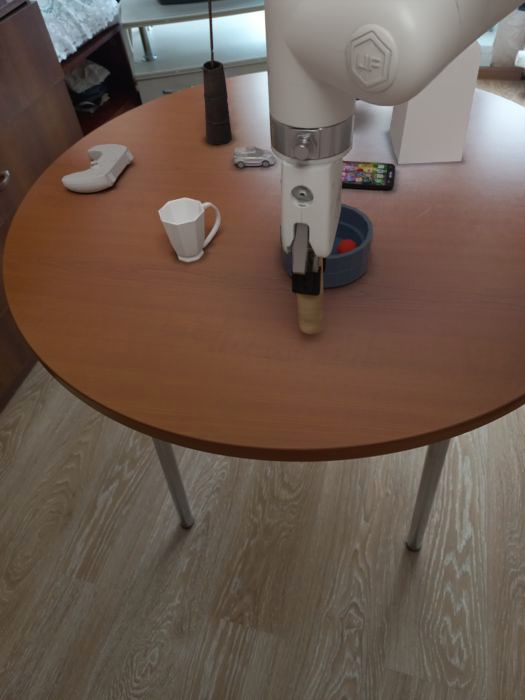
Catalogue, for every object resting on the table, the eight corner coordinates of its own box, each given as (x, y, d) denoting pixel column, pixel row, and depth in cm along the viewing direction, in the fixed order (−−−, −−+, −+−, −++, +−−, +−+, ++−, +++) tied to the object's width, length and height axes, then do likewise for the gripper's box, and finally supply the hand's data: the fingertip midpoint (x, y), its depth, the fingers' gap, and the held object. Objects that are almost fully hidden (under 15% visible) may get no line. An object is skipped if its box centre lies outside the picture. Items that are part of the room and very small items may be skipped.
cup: (160, 253, 83) (148, 210, 77) (209, 226, 87) (202, 183, 81) (185, 274, 79) (174, 230, 73) (235, 245, 83) (229, 201, 77)
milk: (461, 161, 95) (501, -4, 76) (398, 164, 96) (421, 2, 76) (447, 129, 103) (480, -27, 83) (389, 132, 104) (408, -22, 84)
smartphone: (393, 187, 89) (307, 181, 92) (392, 191, 90) (307, 186, 93) (395, 163, 94) (314, 158, 97) (395, 168, 95) (314, 163, 98)
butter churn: (211, 158, 101) (186, -9, 80) (185, 141, 107) (155, -20, 85) (248, 142, 105) (234, -23, 84) (221, 126, 110) (201, -33, 89)
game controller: (89, 140, 103) (132, 133, 99) (100, 161, 106) (141, 154, 102) (53, 179, 94) (98, 173, 90) (66, 200, 97) (110, 195, 93)
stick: (319, 313, 67) (316, 231, 57) (327, 330, 65) (326, 247, 55) (295, 319, 67) (289, 237, 57) (303, 336, 65) (298, 254, 55)
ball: (351, 263, 76) (363, 253, 78) (345, 245, 75) (357, 235, 76) (336, 263, 79) (349, 253, 80) (330, 245, 77) (343, 235, 79)
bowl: (348, 226, 84) (350, 194, 80) (384, 277, 76) (389, 244, 71) (270, 245, 83) (268, 213, 78) (298, 299, 74) (297, 267, 70)
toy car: (275, 167, 98) (274, 152, 96) (233, 168, 98) (231, 154, 96) (275, 157, 100) (275, 142, 98) (234, 158, 101) (233, 144, 99)
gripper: (341, 182, 41) (330, 337, 55) (363, 91, 51) (349, 241, 65) (249, 175, 42) (262, 327, 56) (288, 88, 52) (291, 235, 66)
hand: (309, 280), depth 60 cm, fingers closed on stick, 3 cm apart
